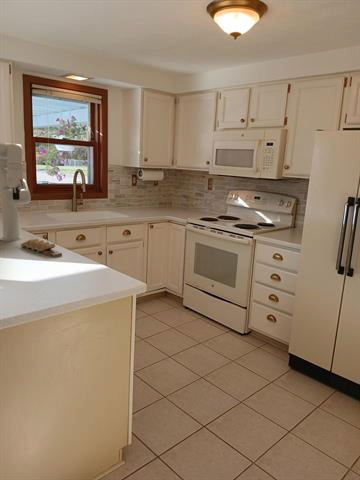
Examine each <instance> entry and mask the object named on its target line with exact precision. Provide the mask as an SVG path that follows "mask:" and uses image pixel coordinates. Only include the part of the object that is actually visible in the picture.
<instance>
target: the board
mask: <svg viewBox="0 0 360 480" xmlns="http://www.w3.org/2000/svg"><path fill="white" fill-rule="evenodd" d="M16 248H18V249H21V250H24V251H27V252H31V253H33V254H36V255H39V256H40V255H43V254H42V252H37V250H33V251H32V249H31V248H30V249H27V248H26V247H21V245H20V246H16Z"/></svg>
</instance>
